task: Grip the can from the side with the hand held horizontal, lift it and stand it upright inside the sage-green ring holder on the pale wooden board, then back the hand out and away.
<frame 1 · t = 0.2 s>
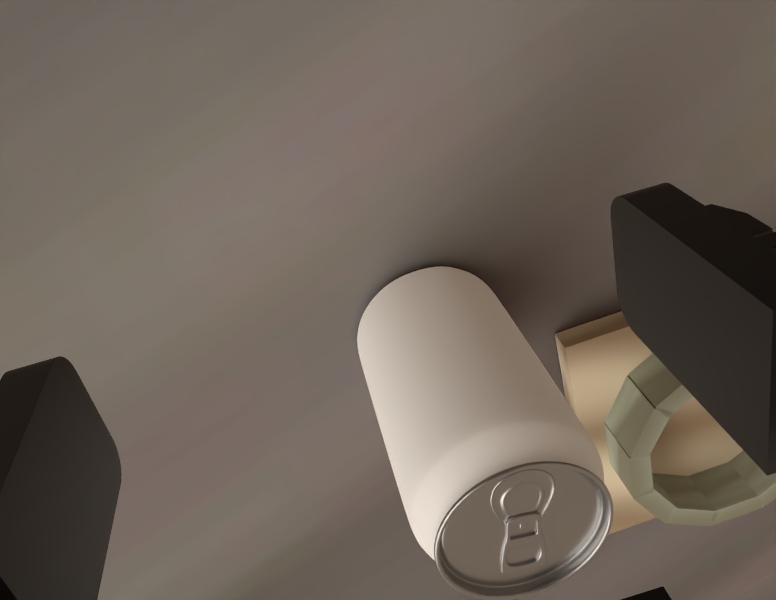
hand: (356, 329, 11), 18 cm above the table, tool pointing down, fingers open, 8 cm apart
can: (427, 325, 33), on the table
can holder: (692, 394, 38), on the table
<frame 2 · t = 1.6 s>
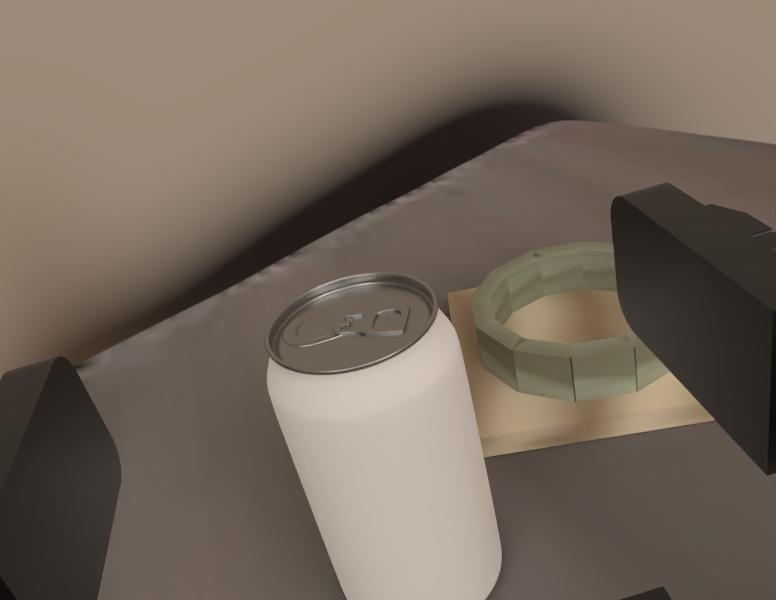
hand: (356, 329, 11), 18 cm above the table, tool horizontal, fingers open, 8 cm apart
can: (423, 570, 30), on the table
can holder: (582, 352, 39), on the table
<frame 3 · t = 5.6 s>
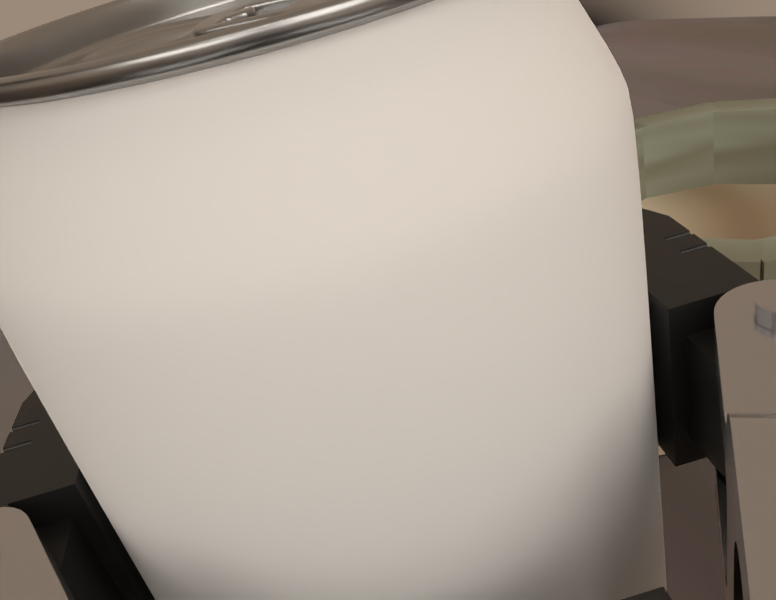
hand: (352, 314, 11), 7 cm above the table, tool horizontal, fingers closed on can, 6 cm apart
can holder: (730, 281, 22), on the table
when the fingers open (9 cm above the table, at t = 10.5 s): can drops 1 cm, resting on can holder.
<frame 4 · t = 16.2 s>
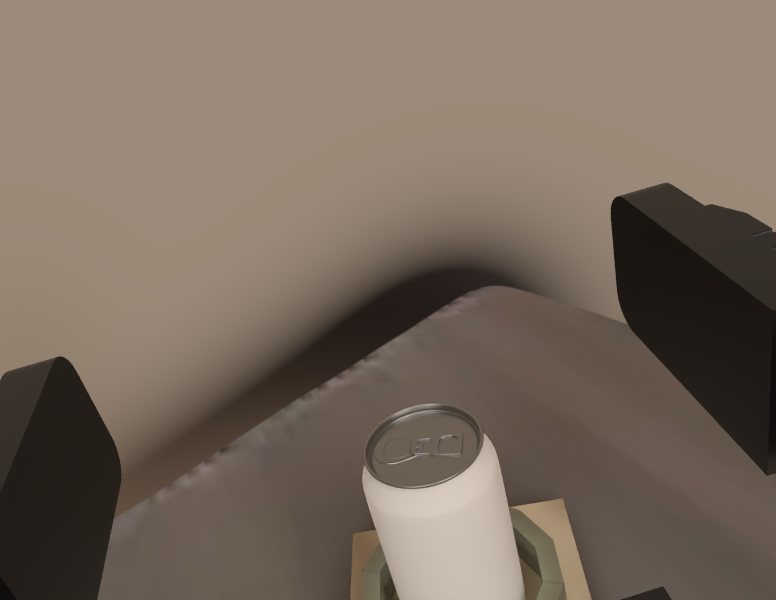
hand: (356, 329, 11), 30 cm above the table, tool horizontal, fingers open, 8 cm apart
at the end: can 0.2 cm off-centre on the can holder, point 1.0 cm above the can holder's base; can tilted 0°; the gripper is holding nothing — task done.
